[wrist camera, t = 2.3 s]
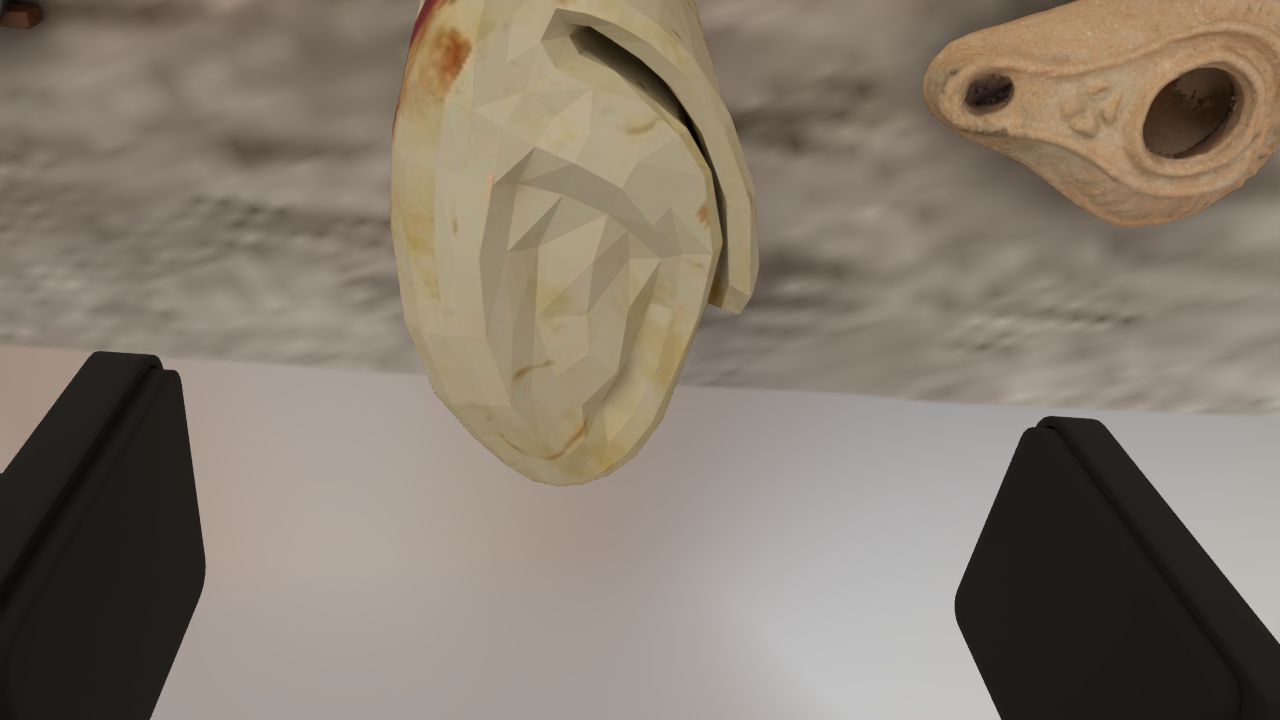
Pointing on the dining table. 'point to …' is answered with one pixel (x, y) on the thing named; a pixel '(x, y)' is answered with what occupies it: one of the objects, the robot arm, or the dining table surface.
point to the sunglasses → (19, 15)
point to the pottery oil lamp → (1122, 100)
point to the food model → (564, 219)
